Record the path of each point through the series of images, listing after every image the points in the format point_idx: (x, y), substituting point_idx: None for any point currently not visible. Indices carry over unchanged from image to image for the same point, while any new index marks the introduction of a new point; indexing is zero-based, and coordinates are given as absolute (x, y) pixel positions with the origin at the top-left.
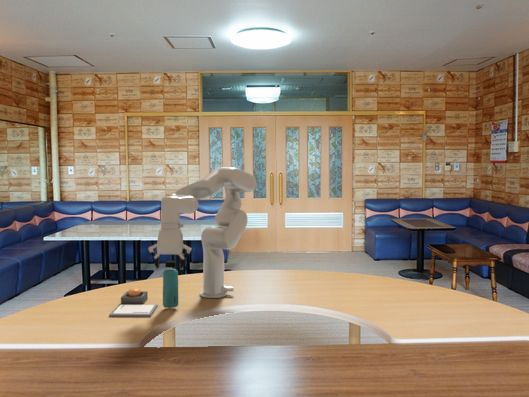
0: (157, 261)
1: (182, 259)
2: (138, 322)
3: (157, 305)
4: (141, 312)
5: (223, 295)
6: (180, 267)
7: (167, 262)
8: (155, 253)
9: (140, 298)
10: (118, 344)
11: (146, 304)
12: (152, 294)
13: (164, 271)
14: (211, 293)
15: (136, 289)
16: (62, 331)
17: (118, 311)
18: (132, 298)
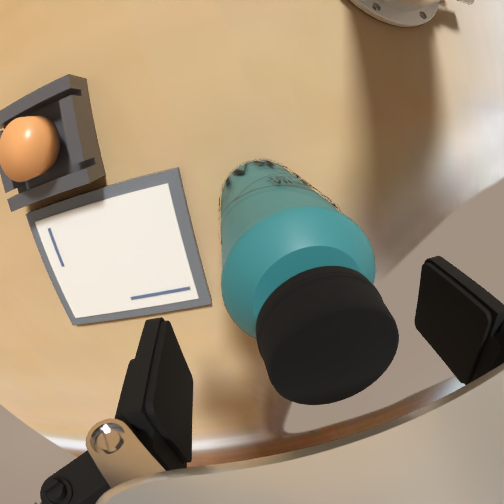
0: (186, 445)
1: (486, 362)
2: (196, 349)
3: (178, 172)
4: (164, 294)
5: (434, 13)
6: (424, 334)
7: (307, 402)
8: (100, 495)
9: (83, 184)
10: (225, 440)
11: (124, 182)
12: (85, 8)
13: (252, 330)
14: (399, 7)
15: (25, 141)
16: (65, 405)
17: (78, 298)
18: (51, 195)
